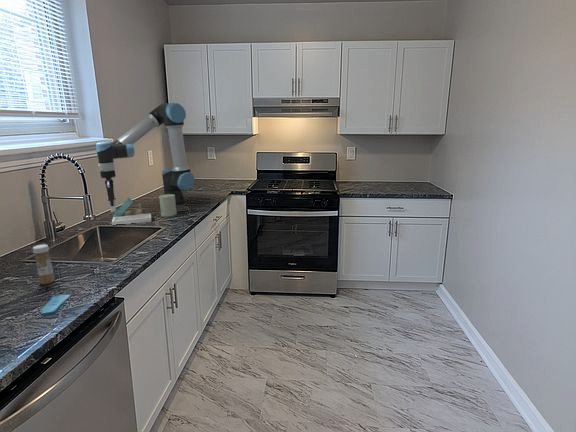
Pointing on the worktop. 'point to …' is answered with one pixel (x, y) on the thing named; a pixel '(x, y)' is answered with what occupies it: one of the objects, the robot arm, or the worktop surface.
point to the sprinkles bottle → (43, 264)
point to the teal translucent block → (134, 211)
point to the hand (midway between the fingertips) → (113, 211)
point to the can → (167, 205)
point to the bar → (123, 208)
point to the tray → (132, 219)
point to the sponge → (54, 304)
